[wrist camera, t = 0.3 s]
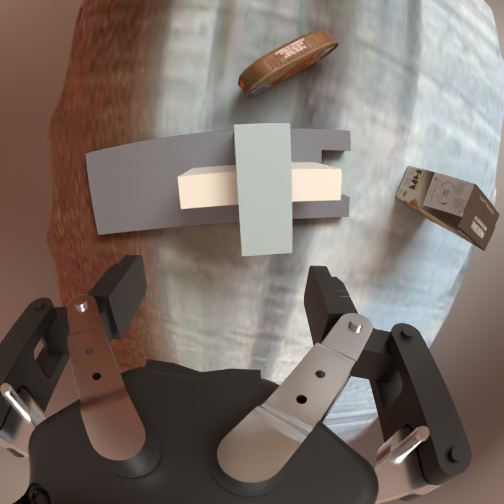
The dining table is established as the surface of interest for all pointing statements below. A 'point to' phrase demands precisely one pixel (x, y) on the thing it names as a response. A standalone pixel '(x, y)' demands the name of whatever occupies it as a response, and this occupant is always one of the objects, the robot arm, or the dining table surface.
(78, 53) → the dining table surface
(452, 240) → the dining table surface
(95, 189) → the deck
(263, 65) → the tin
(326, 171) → the block
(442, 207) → the coffee box
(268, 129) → the tunnel
